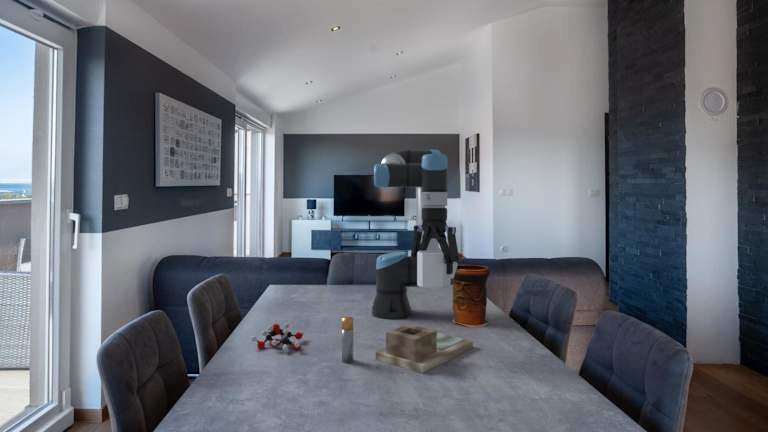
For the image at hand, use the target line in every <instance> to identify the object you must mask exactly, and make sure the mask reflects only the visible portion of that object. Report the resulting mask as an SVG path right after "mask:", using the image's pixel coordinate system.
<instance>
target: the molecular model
mask: <svg viewBox="0 0 768 432" xmlns="http://www.w3.org/2000/svg"><path fill="white" fill-rule="evenodd" d="M283 327H284V328H283V329H281V326H280V324H278V323H274V324H273V325H269V326H267V330H262V331H261V335H262V336H263V337H265V339H264V341H262V340H261V341H260V340H258V339H257V337H256V336H255V335H252V336H251V337H250V341H251V342H252V343H253V342H256V343H257V349H259V350H260V349H261V350H262V349H264V348H265V347H266V342H267V341H268V344H269V345H271V346H273V347H278V346H279V345H280V344H282V345H283V346H282V351H284V352H287V351H288V350H289V346H288V345H290V346H292V348H293V350H294V351H299V350H301V348H302V346H301V345H302V344H301V343H300V342H299V341H296V340H301V339H303V336H305V333H304V331H298V332H296V333H295V334H293V333H292V331H289V328H290V324H289V322H286V323H284V325H283ZM276 336H280V339H281V340H280V339H279V338H273V337H276ZM292 337H294V338H295V339H296V340H295V341H291V340H290V338H292Z"/></svg>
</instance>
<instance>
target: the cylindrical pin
mask: <svg viewBox="0 0 768 432" xmlns="http://www.w3.org/2000/svg"><path fill="white" fill-rule="evenodd" d="M341 362H342V363H344V364H351V363H354V317H353V316H343V317H341Z"/></svg>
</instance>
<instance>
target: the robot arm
mask: <svg viewBox="0 0 768 432" xmlns="http://www.w3.org/2000/svg"><path fill="white" fill-rule="evenodd" d="M448 167H449V164H448V156H447V155H446V154H443V153H442V152H441V151H440V150H439V149H400V150H395V151H393V152H390V153H388V154H386V155H385V156H384V157H383V159H382V160H381V163H376V164H374V166H373V183H374V184H373V185H374V186H375V187H376V188H384V189H386V188H415V223H416V224H415V225H414V226H413V239H412V246H411V252H410V255H408V254H407V252H405V251H396V252H395V251H394V252H389V253H383V254H381V255H379V256H378V257H377V258H376V265H375V266H376V267H375V270H376V275H375V278H376V281H375V282H376V283H375V284H376V288H375V289H376V293H375V298H374V301H373V303H372V304H373V305H372V307H371V314H372V316H373V317H374V318H378V319H387V320H388V319H389V320H390V319H392V320H393V319H396V320H397V319H402V318H408V317H410V316H411V315H412V306H411V304H410V300H409V298H408V297H409V296H408V293H407V290H408V289H407V288H410V287H411V288H421V287H420V286H417V252H418V251H424V250H437V251H442V253H444V255H443V256H444V259H445V262H444V263H443V286H444V287H447V286H451V282H452V281H451V280H452V278H451V274H452V273H453V262H455V261H456V262H458V261H460V256H459V249H458V244H457V237H456V232H457V227H456V226H449V225H448V224H447V219H448V208H447V207H446V206H448ZM446 235H447V236H446Z"/></svg>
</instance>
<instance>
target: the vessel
mask: <svg viewBox="0 0 768 432" xmlns="http://www.w3.org/2000/svg"><path fill="white" fill-rule="evenodd" d="M490 273H491V271H490V268H489V267H488V266H486V265H478V264H475V265H474V264H458V265H457V268H456V272H455V275H454V278H453V279H452V310H453V317H454V318H453V319H452V320H451V322H453V323H455V324H458V325H462V326H465V327H468V328H469V327H472V328H473V327H474V328H476V327H485V326H487V325H488V322H489V321H487V320H486V315H487V314H486V313H487V309H486V308H487V305H488V304H487V302H488V300H487V298H488V297H487V281H488V278H489V276H490Z"/></svg>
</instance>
